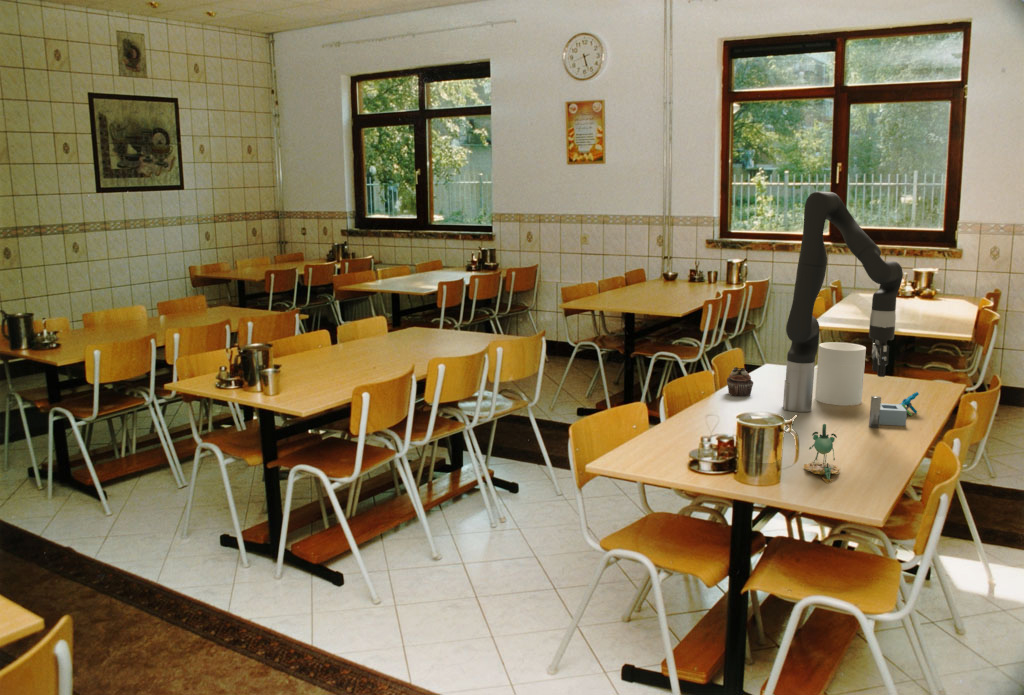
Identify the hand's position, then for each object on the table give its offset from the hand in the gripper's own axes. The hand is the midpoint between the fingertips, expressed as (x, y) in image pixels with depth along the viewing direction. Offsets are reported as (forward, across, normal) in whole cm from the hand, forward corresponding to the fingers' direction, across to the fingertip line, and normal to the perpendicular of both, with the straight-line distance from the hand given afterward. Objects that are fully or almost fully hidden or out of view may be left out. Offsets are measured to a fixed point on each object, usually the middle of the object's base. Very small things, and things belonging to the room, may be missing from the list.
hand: (878, 373), depth 286 cm
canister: (+18, -35, -6) cm, 40 cm away
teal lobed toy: (+18, -22, +14) cm, 32 cm away
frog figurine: (+18, +52, -23) cm, 59 cm away
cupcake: (+18, -36, -41) cm, 57 cm away
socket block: (+18, -8, +6) cm, 20 cm away
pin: (+18, 0, 0) cm, 18 cm away
